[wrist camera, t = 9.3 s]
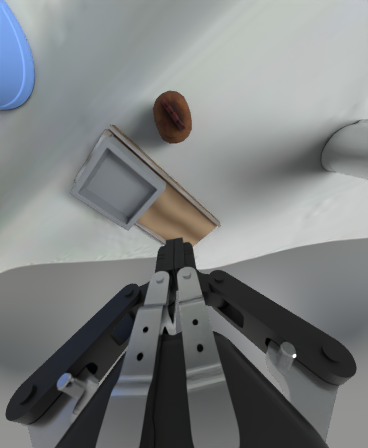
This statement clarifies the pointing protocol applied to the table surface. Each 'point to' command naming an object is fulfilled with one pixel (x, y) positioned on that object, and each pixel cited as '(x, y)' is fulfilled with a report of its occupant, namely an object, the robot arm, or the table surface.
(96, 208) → the shallow grey tray
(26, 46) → the water jug
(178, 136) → the wooden figurine
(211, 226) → the rail board
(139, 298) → the robot arm
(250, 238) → the table surface
